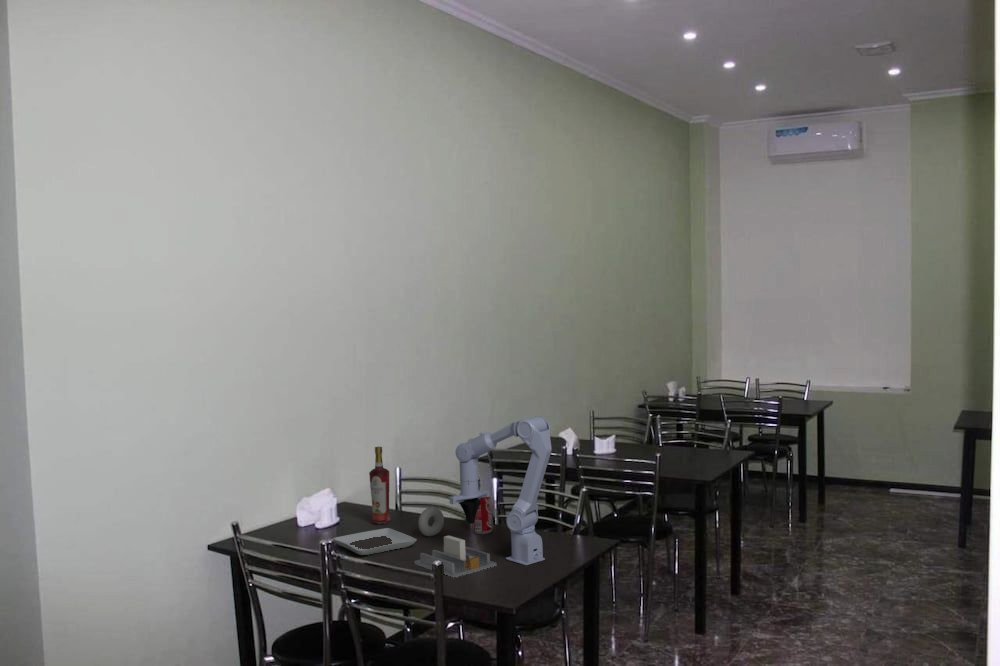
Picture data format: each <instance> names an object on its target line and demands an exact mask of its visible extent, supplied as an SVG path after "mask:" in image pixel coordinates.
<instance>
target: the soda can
mask: <svg viewBox="0 0 1000 666" xmlns="http://www.w3.org/2000/svg"><path fill="white" fill-rule="evenodd" d="M490 495H491V494H490V493H489V497H483V498H478V500H481V504H480V506H479V508H478V510H477V513H476V517H475V522H474V523H472V524H471V529H472V530H471V531H472V532H473V534H474V535H485V534H486V535H487V534H490V533H491V532H492V531H493V510H492V507H493V506H492V498H491V496H490Z"/></svg>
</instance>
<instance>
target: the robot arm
mask: <svg viewBox="0 0 1000 666" xmlns="http://www.w3.org/2000/svg"><path fill="white" fill-rule="evenodd" d="M551 428H552V427H551V426H550V423H549V422H548V421H547V419H546V418H545V416H542V415H535V416H533V417H532V416H531V417H529V418H522V419H520V420H518V421H514V422H510V424H507V425H506V426H504V427H501V429H499V430H498V429H497V431H495V432H493V433H492V432H488V431H487V432H485V431H481V432H480V433H479V435H477V436H476V437H474V438H472V437H471V438H469V439H468V442H462V443H460V444H459V445H457V446H456V449H455V457H456V458H457V460H458V461H459V483H460V485H459V486H460V487H459V488H460V493H459V494H456V495H453V496H449V504H451V505H456V504H459V505H460V507H461V509H462V510H463V513H464V517H465V520H466V523H468V524H470V525H472V523H474V522H475V517H476V513H477V510H478V508H479V506H480V504H481V500H478V498H483V497H489V496H490V495H489V494H490V490H488V489H487V490H486V489H484V490H479V466H478V464H479V458H480V456H483V455H485V454H486V453H489V452H491V451H493V450H495V449H496V447H497V444H498V443H500V442H502V441H504V440H506V439H509V438H511V437H513V436H514V437H516V438H517V437H519V438H520V439H521V441H523V442H524V444H526V445H527V446H528V448H529V449H530V450H531V452H532V453H531V455H530V459H529V463H528V466H527V469H526V472H525V476H524V479H523V482H522V483H523V484H522V486H521V489H520V493H519V496H518V499H517V501H516V502H515V503H514V504H513V506H512V508H511V511H510V512H509V513H508V514H507V516H506V519H505V522H506V526H507V528H508V529H509V530H510V539H511V555H510V556H507V557H505V559H506V560H507V561H510V562H515V563H518V564H520V565H524V566H529V565H532V564H535V563H538V562H542V561H545V560H546V558H545V557H543V556H544V555H543V554H544V552H543V550H544V549H543V548H544V547H543V538H542V536H541V535H539V534H538V533H537V532H536V530H535V529H536V527H535V525H536V524H537V522H538V520H539V513H538V511H539V505H538V504H537V501H538V497H539V493H540V490H541V487H542V484H543V481H544V477H545V473H546V470H547V467H548V464H549V460H550V458H551V457H550V456H551V454H552V442H551V435H550V432H551Z"/></svg>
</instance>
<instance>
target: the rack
mask: <svg viewBox="0 0 1000 666" xmlns="http://www.w3.org/2000/svg"><path fill="white" fill-rule="evenodd" d="M465 553H466V560H465V559H462V558H459V557H456V556H452V555H449V554H446V553H444V546H443V551H440V550H436V549H433V550H431V555H430V554H428V553H425V552H420V553H419V558H420V559H417V560H414V561H413V563H414V565H415V566H419V567H421V568H424V569H427V570H429V569H430V570H429V571H432V563H433V562H434V561H435V560H440V561H442V562H443V565H444V574H445V575H444V576H446V575H448V576H447V577H449V576H451V577H450V578H452V577H453V578H452V579H455V578H454V577H456V578H459V576H460V577H463V576H466V574H467V575H470V574H473V572H474V573H477V572H480V570H481V571H484V570H487V568H488V569H490V567H491V568H495V567H497V562H496V561H492V560H491V559H490V558H491V557H490V553H489V552H485V551H482V550H479V549H476V548H472V547H469V546H466V545H465ZM494 566H495V567H494ZM483 569H484V570H483ZM462 575H463V576H462Z"/></svg>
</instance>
